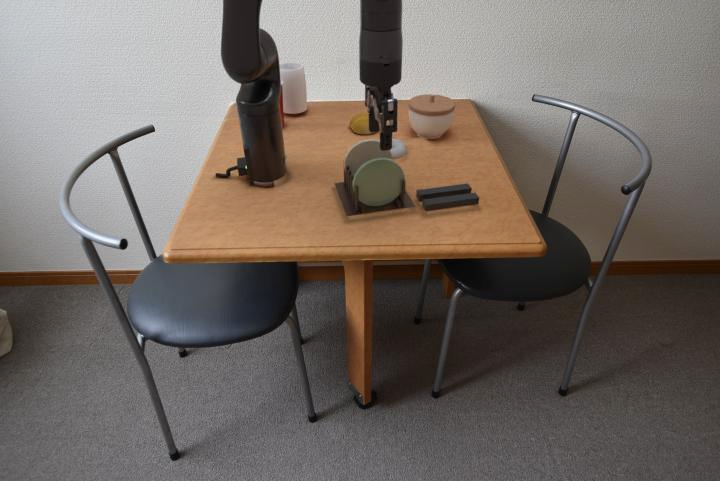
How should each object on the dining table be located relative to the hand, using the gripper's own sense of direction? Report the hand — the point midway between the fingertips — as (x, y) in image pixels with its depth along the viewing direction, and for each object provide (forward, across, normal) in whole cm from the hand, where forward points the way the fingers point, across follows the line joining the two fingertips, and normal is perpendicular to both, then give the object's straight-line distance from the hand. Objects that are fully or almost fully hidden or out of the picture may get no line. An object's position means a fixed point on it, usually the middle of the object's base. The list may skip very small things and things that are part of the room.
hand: (379, 140), depth 93 cm
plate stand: (+17, +2, +15) cm, 22 cm away
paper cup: (+16, -51, -18) cm, 56 cm away
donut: (+17, -24, +9) cm, 31 cm away
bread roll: (+17, -42, +7) cm, 46 cm away
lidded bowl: (+17, -34, +24) cm, 45 cm away
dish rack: (+16, -4, 0) cm, 17 cm away
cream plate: (+15, -9, 0) cm, 17 cm away
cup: (+16, -60, -11) cm, 63 cm away
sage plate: (+15, 0, 0) cm, 15 cm away
